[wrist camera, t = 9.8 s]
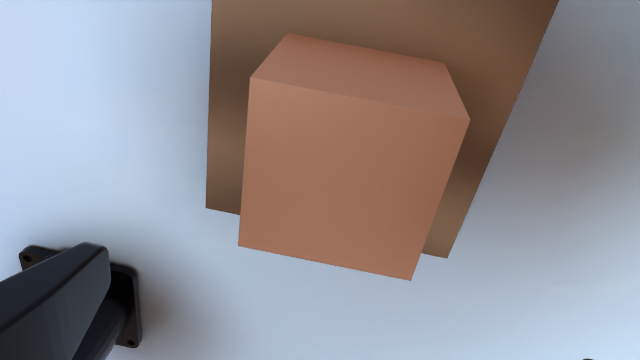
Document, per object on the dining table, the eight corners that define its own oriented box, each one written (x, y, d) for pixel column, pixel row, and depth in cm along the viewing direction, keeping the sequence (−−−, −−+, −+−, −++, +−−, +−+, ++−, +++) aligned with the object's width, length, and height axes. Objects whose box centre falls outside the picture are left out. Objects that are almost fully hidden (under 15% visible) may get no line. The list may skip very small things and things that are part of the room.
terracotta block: (403, 194, 18) (410, 280, 13) (272, 168, 18) (238, 245, 13) (444, 62, 15) (470, 119, 10) (287, 32, 15) (249, 77, 11)
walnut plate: (442, 237, 20) (447, 258, 19) (216, 190, 20) (205, 208, 19) (545, -11, 15) (560, -5, 13) (228, -74, 15) (214, -74, 13)
